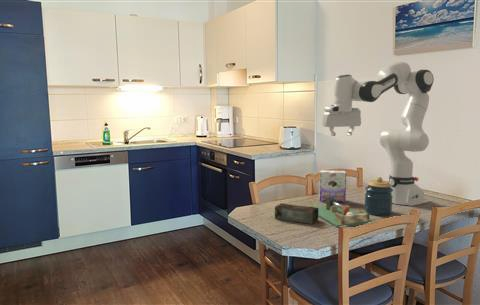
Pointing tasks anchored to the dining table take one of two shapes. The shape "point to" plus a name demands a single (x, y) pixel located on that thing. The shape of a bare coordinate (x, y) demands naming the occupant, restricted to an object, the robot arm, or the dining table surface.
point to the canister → (378, 197)
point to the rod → (337, 205)
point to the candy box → (332, 185)
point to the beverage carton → (296, 213)
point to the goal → (352, 218)
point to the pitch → (329, 215)
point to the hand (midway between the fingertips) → (341, 135)
